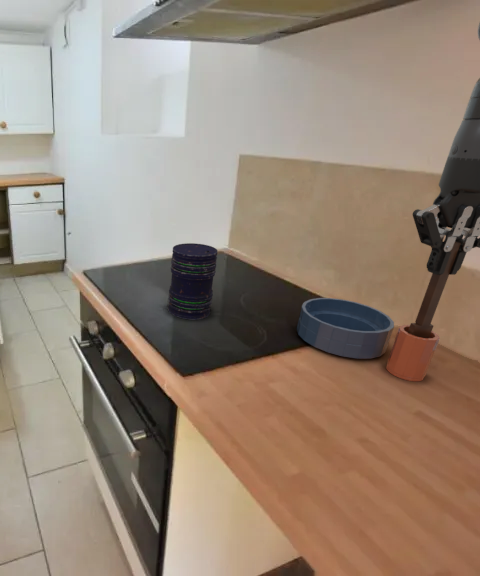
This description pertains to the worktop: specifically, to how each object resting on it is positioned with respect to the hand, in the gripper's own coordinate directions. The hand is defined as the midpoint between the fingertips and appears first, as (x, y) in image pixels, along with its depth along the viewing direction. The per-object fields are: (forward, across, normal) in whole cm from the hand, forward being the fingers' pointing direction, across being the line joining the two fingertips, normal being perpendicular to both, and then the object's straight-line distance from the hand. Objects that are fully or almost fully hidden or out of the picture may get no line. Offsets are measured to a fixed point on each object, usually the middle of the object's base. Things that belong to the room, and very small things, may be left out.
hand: (441, 272), depth 59 cm
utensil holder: (+19, 0, 0) cm, 19 cm away
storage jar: (+19, -32, +25) cm, 45 cm away
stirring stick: (+13, 0, 0) cm, 13 cm away
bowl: (+19, -5, +11) cm, 22 cm away
